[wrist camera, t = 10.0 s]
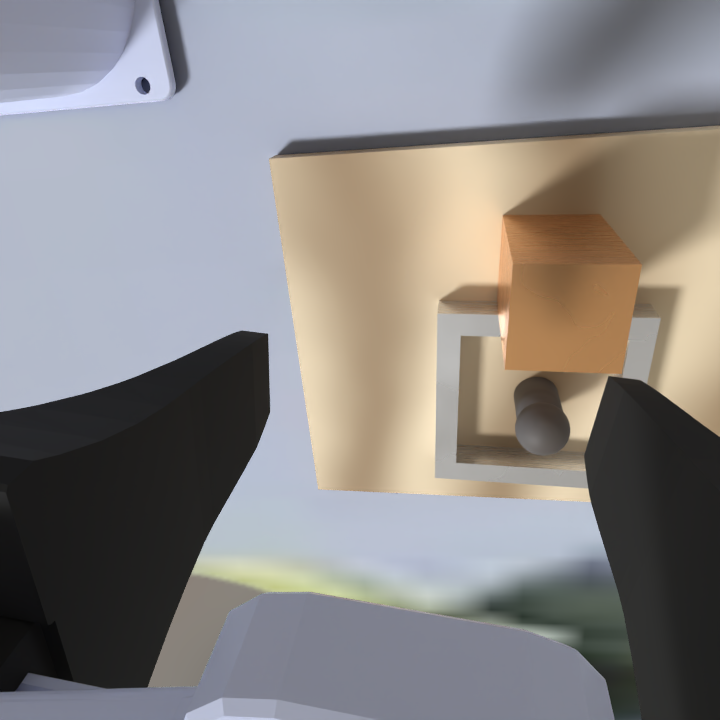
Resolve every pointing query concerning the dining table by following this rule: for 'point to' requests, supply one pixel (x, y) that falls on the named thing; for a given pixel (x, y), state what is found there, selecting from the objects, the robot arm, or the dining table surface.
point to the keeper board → (483, 292)
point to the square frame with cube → (545, 333)
